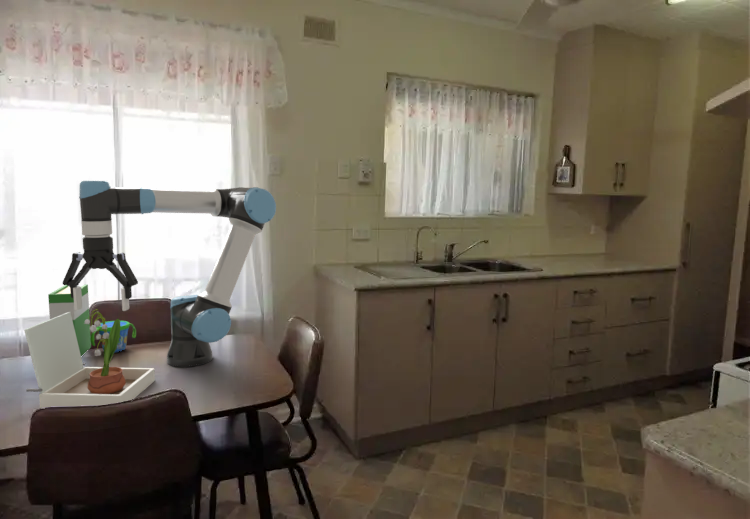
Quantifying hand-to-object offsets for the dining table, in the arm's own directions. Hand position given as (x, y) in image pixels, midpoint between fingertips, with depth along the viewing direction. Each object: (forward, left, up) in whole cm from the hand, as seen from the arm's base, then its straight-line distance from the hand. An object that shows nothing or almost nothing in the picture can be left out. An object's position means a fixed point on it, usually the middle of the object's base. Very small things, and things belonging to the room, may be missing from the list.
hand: (102, 309), depth 148 cm
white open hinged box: (+3, 0, -25) cm, 25 cm away
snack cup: (+17, -40, -25) cm, 50 cm away
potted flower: (0, 0, -25) cm, 25 cm away
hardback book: (+29, -34, -25) cm, 51 cm away
